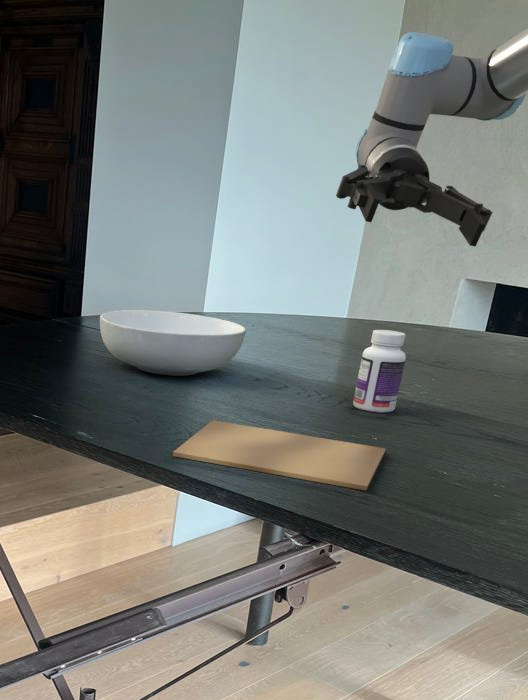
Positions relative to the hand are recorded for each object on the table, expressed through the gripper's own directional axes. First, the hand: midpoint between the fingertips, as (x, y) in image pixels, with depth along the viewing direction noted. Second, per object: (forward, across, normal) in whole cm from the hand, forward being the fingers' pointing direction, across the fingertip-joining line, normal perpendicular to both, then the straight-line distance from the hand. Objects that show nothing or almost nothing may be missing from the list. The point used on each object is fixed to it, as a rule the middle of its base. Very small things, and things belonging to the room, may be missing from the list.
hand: (425, 223), depth 123 cm
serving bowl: (-5, +26, -28) cm, 39 cm away
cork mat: (+34, +15, -17) cm, 42 cm away
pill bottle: (+9, -1, -21) cm, 23 cm away
